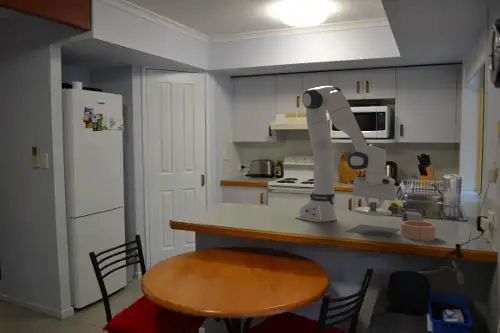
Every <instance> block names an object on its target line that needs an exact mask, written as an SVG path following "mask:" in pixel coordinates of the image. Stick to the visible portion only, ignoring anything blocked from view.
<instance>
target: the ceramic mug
mask: <svg viewBox="0 0 500 333" xmlns="http://www.w3.org/2000/svg"><path fill="white" fill-rule="evenodd" d="M401 218H402V222H403V221H424V216H423V214H422V213H420V212H412V211H404V212H403V214H402V217H401ZM402 222H401V223H402Z"/></svg>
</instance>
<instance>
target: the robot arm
mask: <svg viewBox="0 0 500 333" xmlns="http://www.w3.org/2000/svg"><path fill="white" fill-rule="evenodd" d="M302 103H303V105H304V107H305V108H306V109H305V116H306V117H305V118H306V126H307V130H308V135H309V140H310V144H311V145H310V146H311V149H312V154H313V157H312V158H313V160H312V162H313V163H312V165H313V166H312V167H313V168H312V169H313V193H310V194H309V196H308V197H309V198H310V199H309V200H308V201H307V202H305V203H304V204H302V205H301V206H300V209H299V214H296V215H295V219H298V220H299V219H300V220H304V221H309V222H315V223H321V222H332V221H334V222H335V221H336V220H338V219H337V215H336V209H335V208H336V207H335V203H336V196H335V195H336V194H335V159H336V158H335V152H334V148H333V147H334V146H333V143H332V137H331V132H330V127H329V126H330V125H329V122H328V117H327V113H328V116H329V118H330V121H331V123H332V125H333V126H334V128H335V129H337V130H339V132H340V131H341V132H343V133H344V134H345V135H347V136H348V137H349V138H350V140H351V142H352V144H353V146H354V149H355V150H353V151H350V153H349V154H348V156H347V158H346V164H347V165H348V167H349V169H351V170H354V171H365V177H358V176H357V177H355V178H353V182H352V183H353V186H352V188H353V189H352V195H353V197H360V198H364V201H365V204H366V207H370V201H369V199H376V200H378V203H377V204H376V208H378V209H379V208H380V207H381V205H382V203H383V201H391V202H394V201H396V200H397V197H398V194H397V193H398V191H397V187H396V185H395V183H396V180H395V179H394V178H393V177H389V176H387V175H386V165H387V150H386V148H385V147H384V146H383V145H380V144H376V143H375V144H374V143H370V144H368V141H367V140H366V138H365V135H364V134H363V132H362V129H361V127H360V126H359V124H358V122H357V120H356V117H355V115H354V113H353V110H352V107H351V106H350V103H349V101H348V99H347V97H346V96H345V94H344V93H343V92H342V90H341V88H340V87H339V86H335V85H325V86H324V85H323V86H322V85H321V86H319V87H314V88H309V89H306V90H305V91H304V92H303V94H302Z"/></svg>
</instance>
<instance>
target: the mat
mask: <svg viewBox="0 0 500 333" xmlns="http://www.w3.org/2000/svg"><path fill="white" fill-rule="evenodd" d="M399 231H401V228H394V227H387V226H386V227H385V226H379V225H370V224H358V225H356V226H354V227H352V228H351V229H348V230H347V231H345V233H352V234H353V233H354V234H359V235H367V236H375V237H381V238H382V237H383V238H388V239H389V238H391V237H392V236H393V235H395V234H396V233H398V232H399Z"/></svg>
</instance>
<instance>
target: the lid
mask: <svg viewBox="0 0 500 333" xmlns="http://www.w3.org/2000/svg"><path fill="white" fill-rule="evenodd" d="M369 203H370V207H367V206H358V207H355V208H354V212H355V213H357V214H362V215H366V216H374V217H388V216H391V215H393V214H392V212H393V211H391V210H389V209H385V208H379V209H378V208H376V204H378V202H377V201H369Z"/></svg>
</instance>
